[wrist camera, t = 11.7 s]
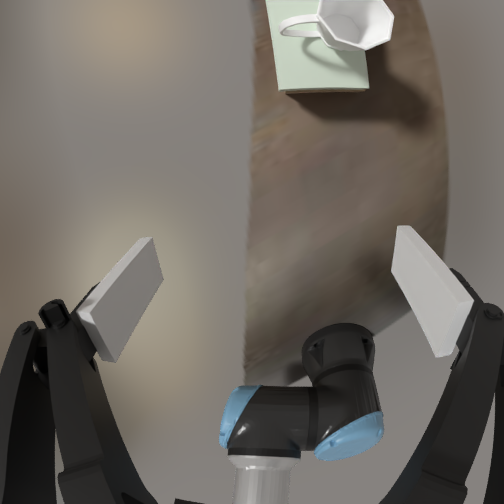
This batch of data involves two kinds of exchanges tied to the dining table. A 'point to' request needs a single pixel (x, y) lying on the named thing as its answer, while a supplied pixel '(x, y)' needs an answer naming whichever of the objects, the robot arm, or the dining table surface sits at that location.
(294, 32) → the cup
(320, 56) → the top block
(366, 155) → the dining table surface
